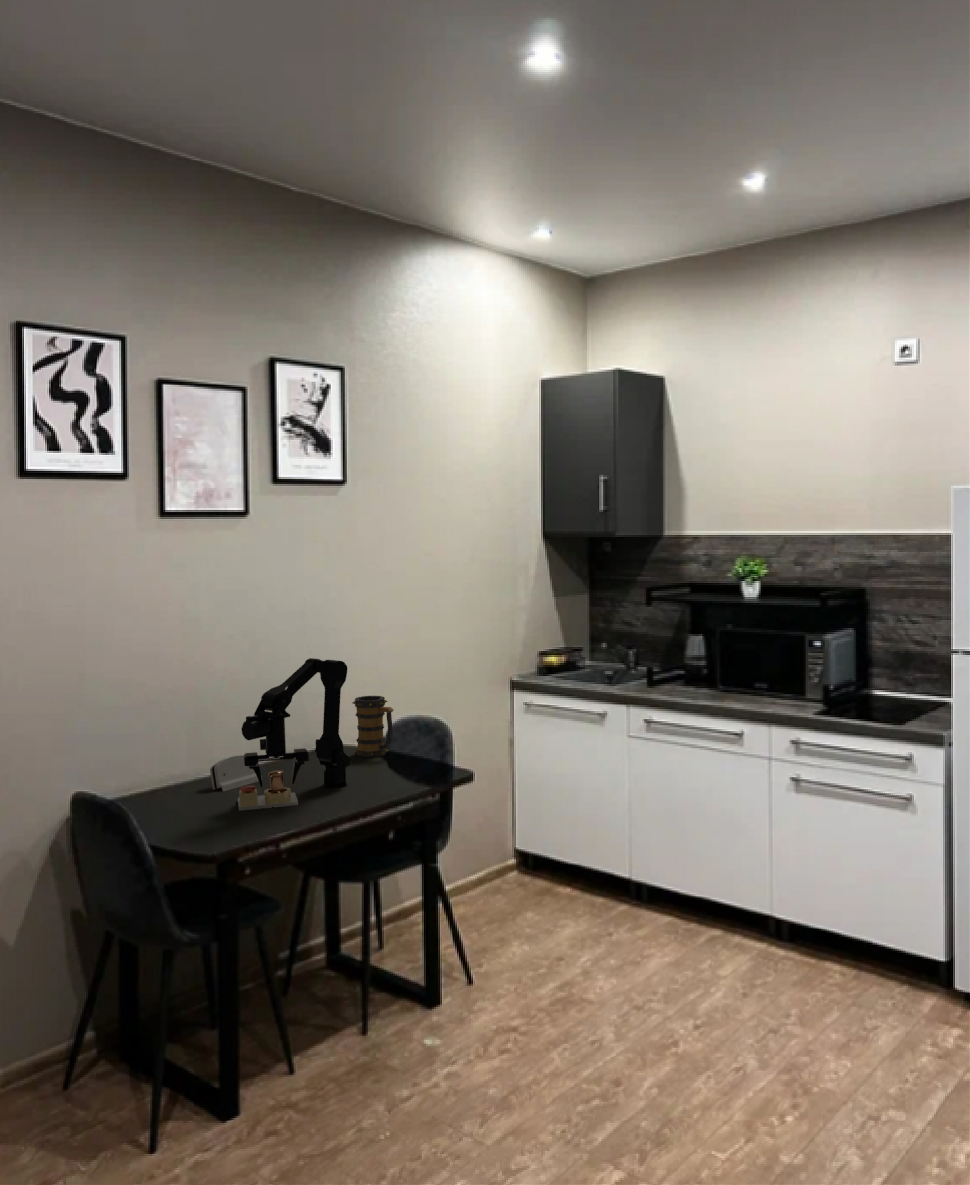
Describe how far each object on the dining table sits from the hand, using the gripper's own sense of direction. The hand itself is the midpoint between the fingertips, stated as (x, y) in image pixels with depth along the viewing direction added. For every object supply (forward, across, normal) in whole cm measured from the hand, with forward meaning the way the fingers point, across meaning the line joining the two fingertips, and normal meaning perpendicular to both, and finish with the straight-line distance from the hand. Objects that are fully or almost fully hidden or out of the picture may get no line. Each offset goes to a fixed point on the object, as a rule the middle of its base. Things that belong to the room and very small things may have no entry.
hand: (277, 785), depth 308 cm
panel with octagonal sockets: (+5, +3, 0) cm, 6 cm away
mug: (+5, -38, -51) cm, 64 cm away
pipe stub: (+4, 0, 0) cm, 4 cm away
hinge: (+5, +12, -26) cm, 29 cm away
